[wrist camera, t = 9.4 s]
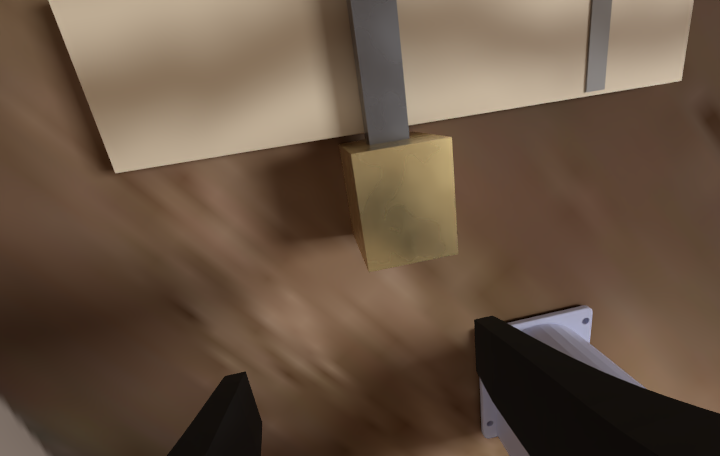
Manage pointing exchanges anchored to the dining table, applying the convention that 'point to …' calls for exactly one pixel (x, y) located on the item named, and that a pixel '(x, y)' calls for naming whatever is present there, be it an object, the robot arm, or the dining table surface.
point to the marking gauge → (394, 155)
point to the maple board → (343, 65)
